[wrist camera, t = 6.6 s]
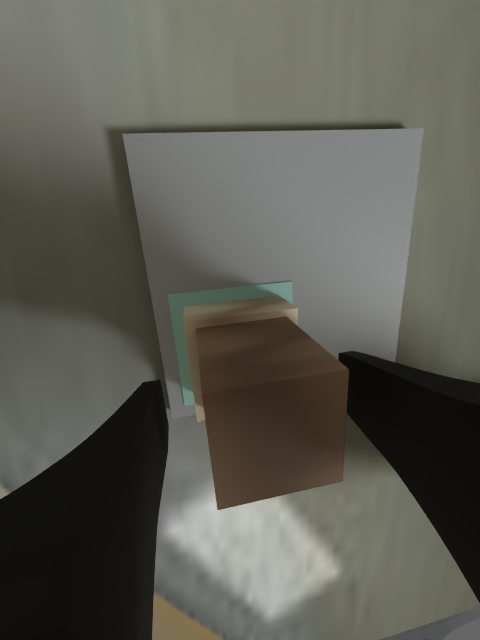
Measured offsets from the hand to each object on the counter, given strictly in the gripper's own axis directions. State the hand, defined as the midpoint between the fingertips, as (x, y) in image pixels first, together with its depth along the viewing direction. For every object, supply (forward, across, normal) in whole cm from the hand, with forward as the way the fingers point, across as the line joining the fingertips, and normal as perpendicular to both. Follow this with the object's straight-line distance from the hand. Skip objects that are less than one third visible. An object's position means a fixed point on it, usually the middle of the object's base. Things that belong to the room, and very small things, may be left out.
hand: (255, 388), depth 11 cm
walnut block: (+2, 0, 0) cm, 2 cm away
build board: (+5, -3, -3) cm, 7 cm away
